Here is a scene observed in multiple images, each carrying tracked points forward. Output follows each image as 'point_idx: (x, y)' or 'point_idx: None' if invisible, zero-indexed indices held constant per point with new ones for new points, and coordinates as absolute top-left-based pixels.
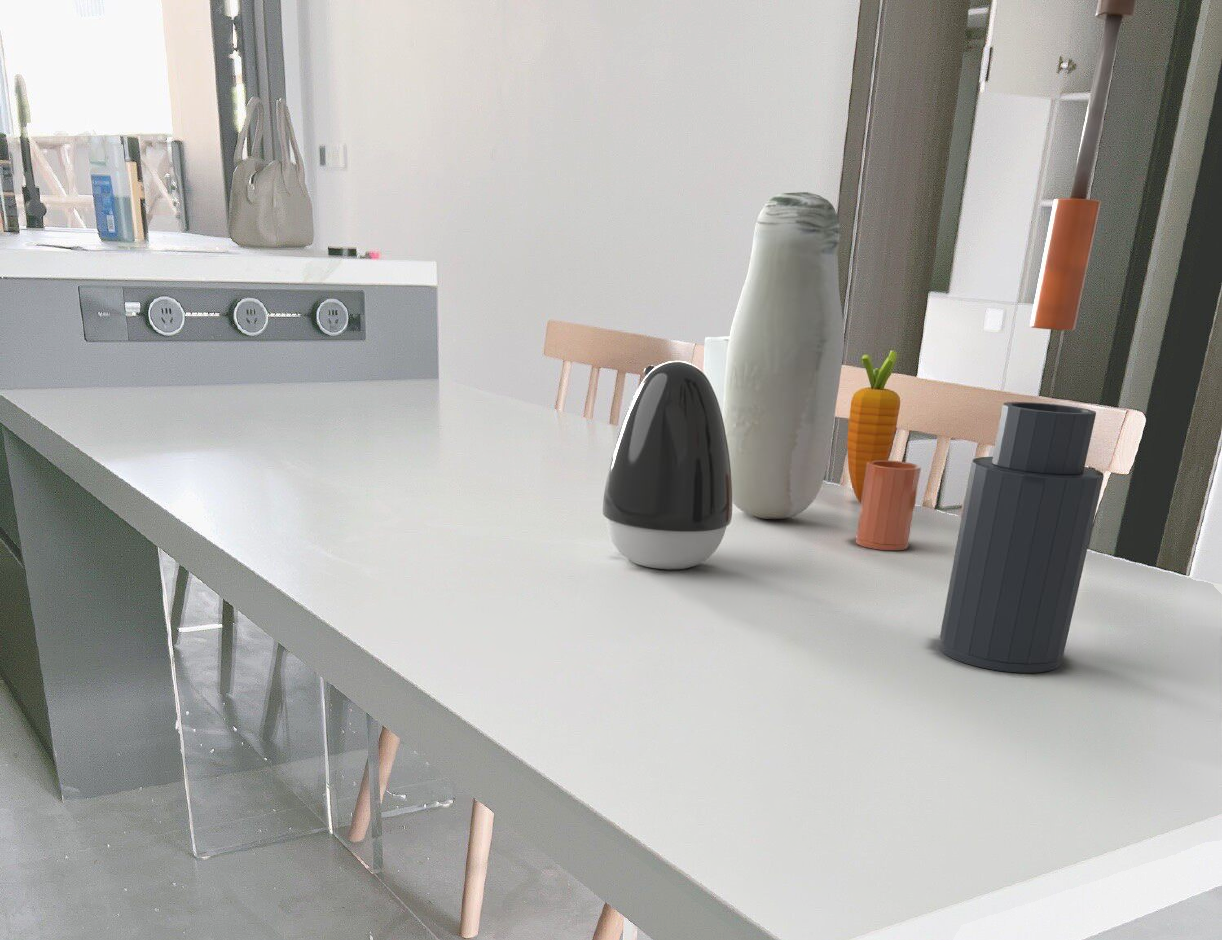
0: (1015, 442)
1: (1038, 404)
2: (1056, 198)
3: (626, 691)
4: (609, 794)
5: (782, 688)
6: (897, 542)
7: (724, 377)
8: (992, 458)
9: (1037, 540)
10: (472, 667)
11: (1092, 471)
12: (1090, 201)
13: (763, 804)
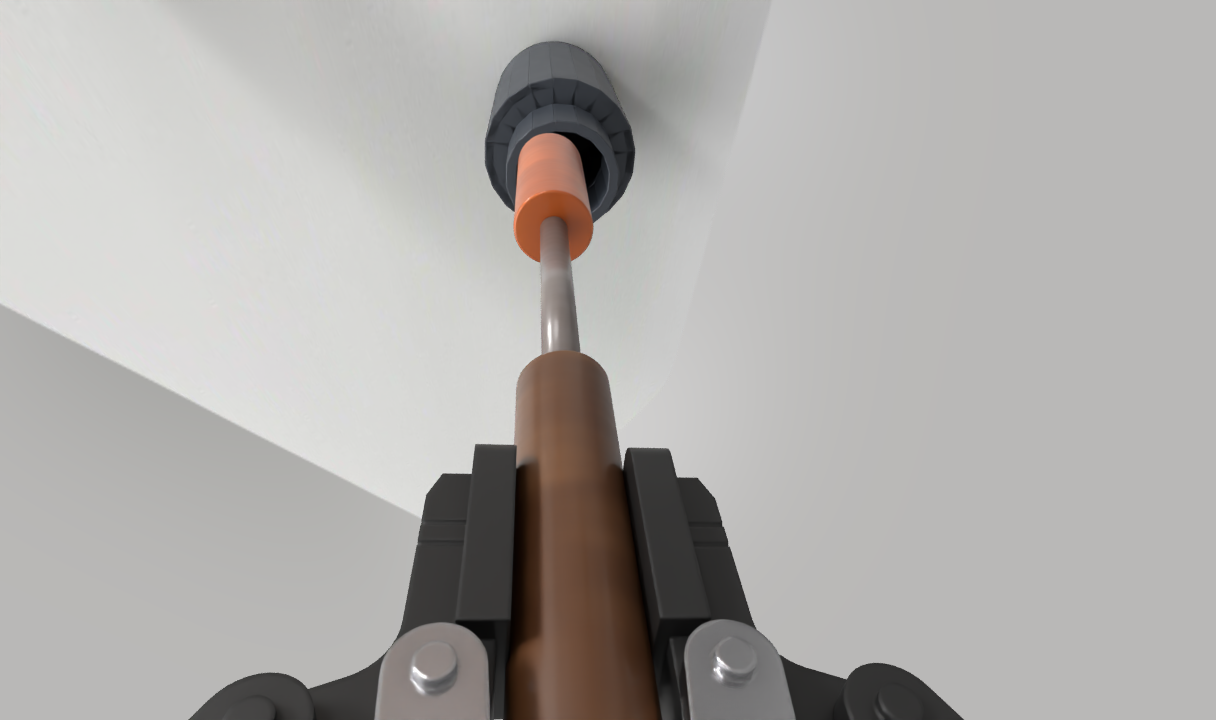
0: None
1: (550, 132)
2: (517, 241)
3: (295, 341)
4: (364, 475)
5: (394, 287)
6: None
7: None
8: (507, 119)
9: None
10: (169, 342)
11: (623, 146)
12: (573, 259)
13: (439, 457)
